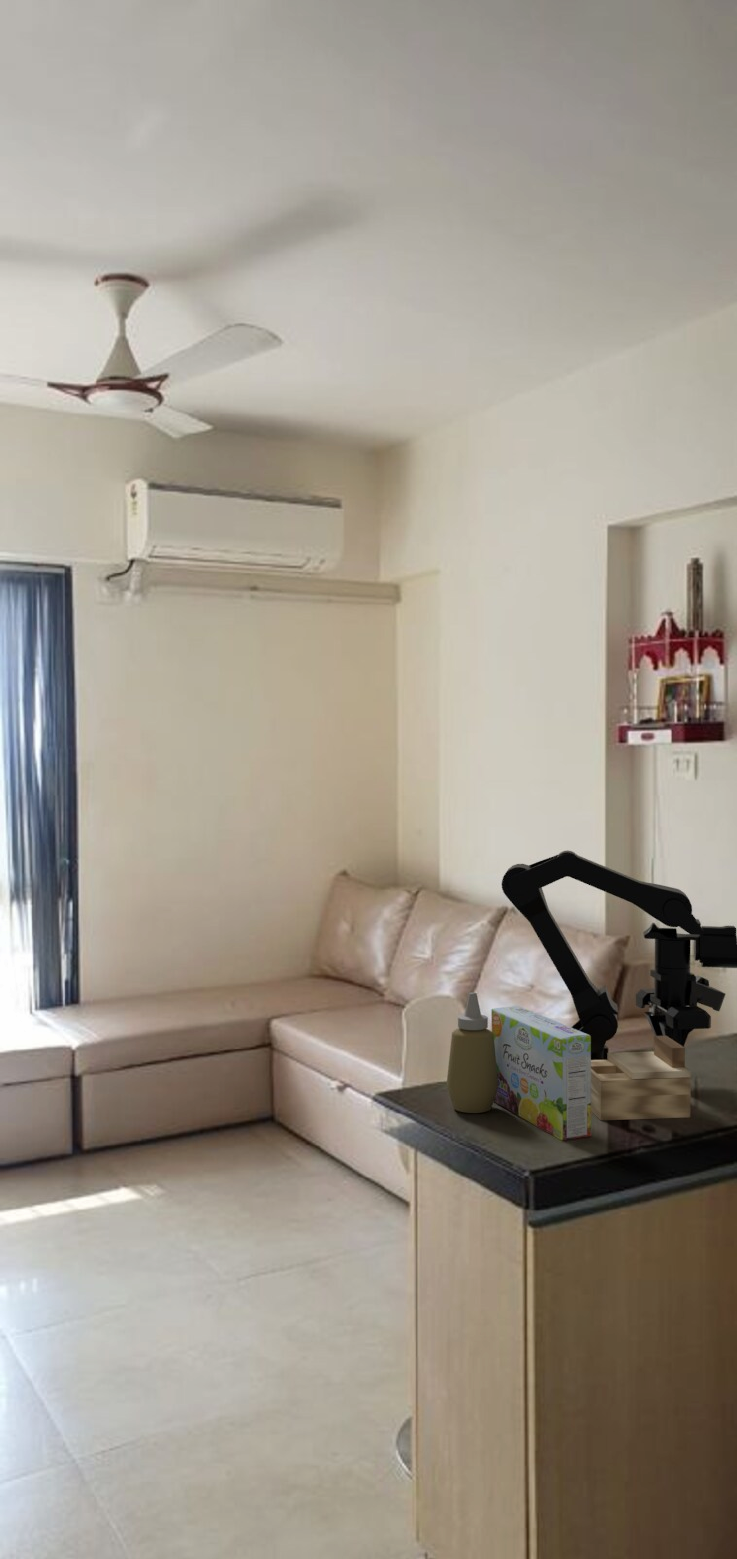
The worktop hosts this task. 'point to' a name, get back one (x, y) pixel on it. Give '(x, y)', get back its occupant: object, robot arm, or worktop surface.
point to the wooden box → (636, 1095)
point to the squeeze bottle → (472, 1062)
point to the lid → (653, 1061)
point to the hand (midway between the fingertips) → (671, 1060)
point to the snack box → (543, 1071)
